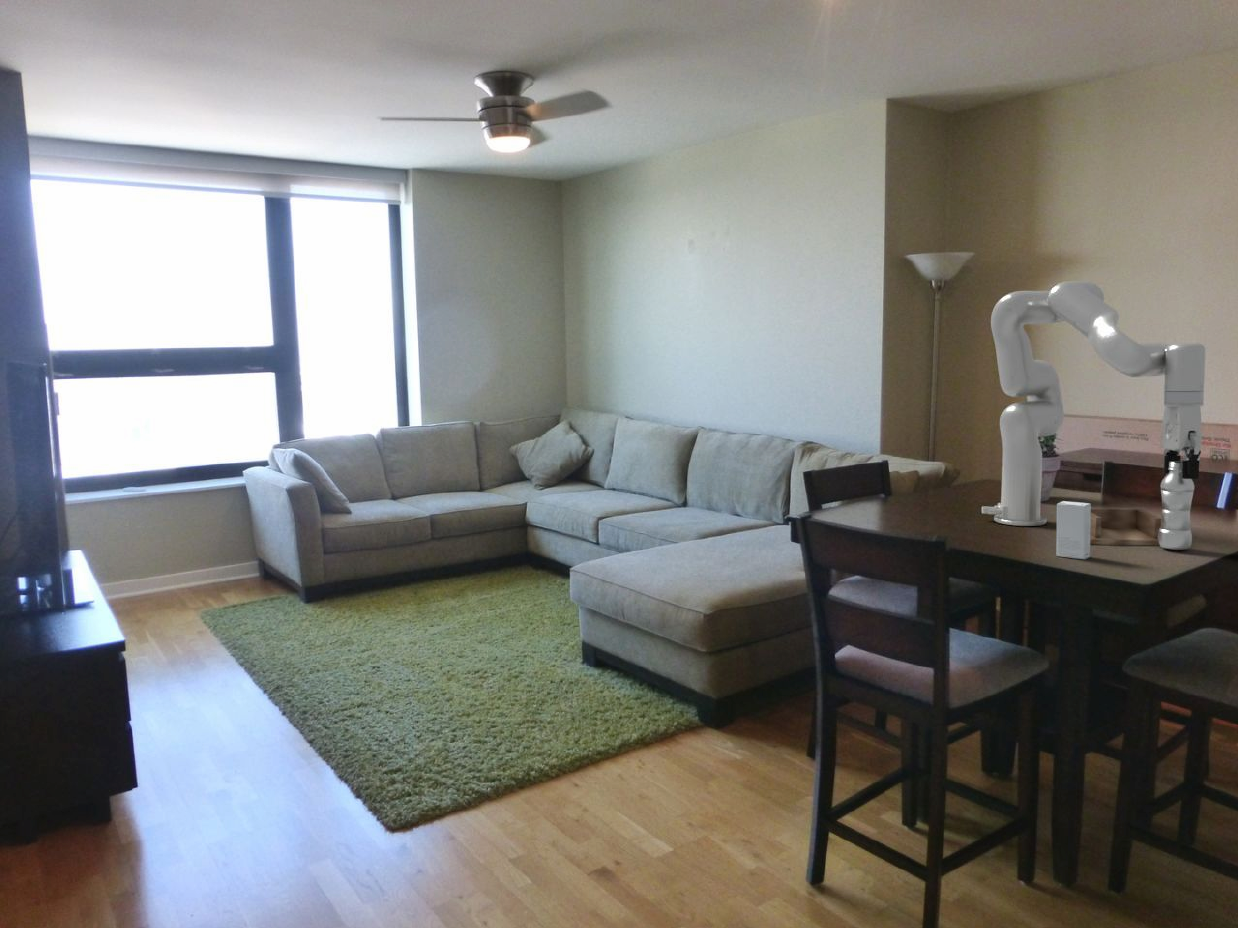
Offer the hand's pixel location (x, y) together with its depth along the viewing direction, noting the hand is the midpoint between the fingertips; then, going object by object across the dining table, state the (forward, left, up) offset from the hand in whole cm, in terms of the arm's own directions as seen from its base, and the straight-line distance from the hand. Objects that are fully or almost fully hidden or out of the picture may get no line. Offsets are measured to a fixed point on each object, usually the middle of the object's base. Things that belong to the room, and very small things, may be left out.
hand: (1180, 475), depth 206 cm
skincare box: (-24, -9, -17) cm, 31 cm away
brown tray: (-8, +12, -17) cm, 23 cm away
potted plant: (-14, +66, -17) cm, 70 cm away
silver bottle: (0, 0, -17) cm, 17 cm away
